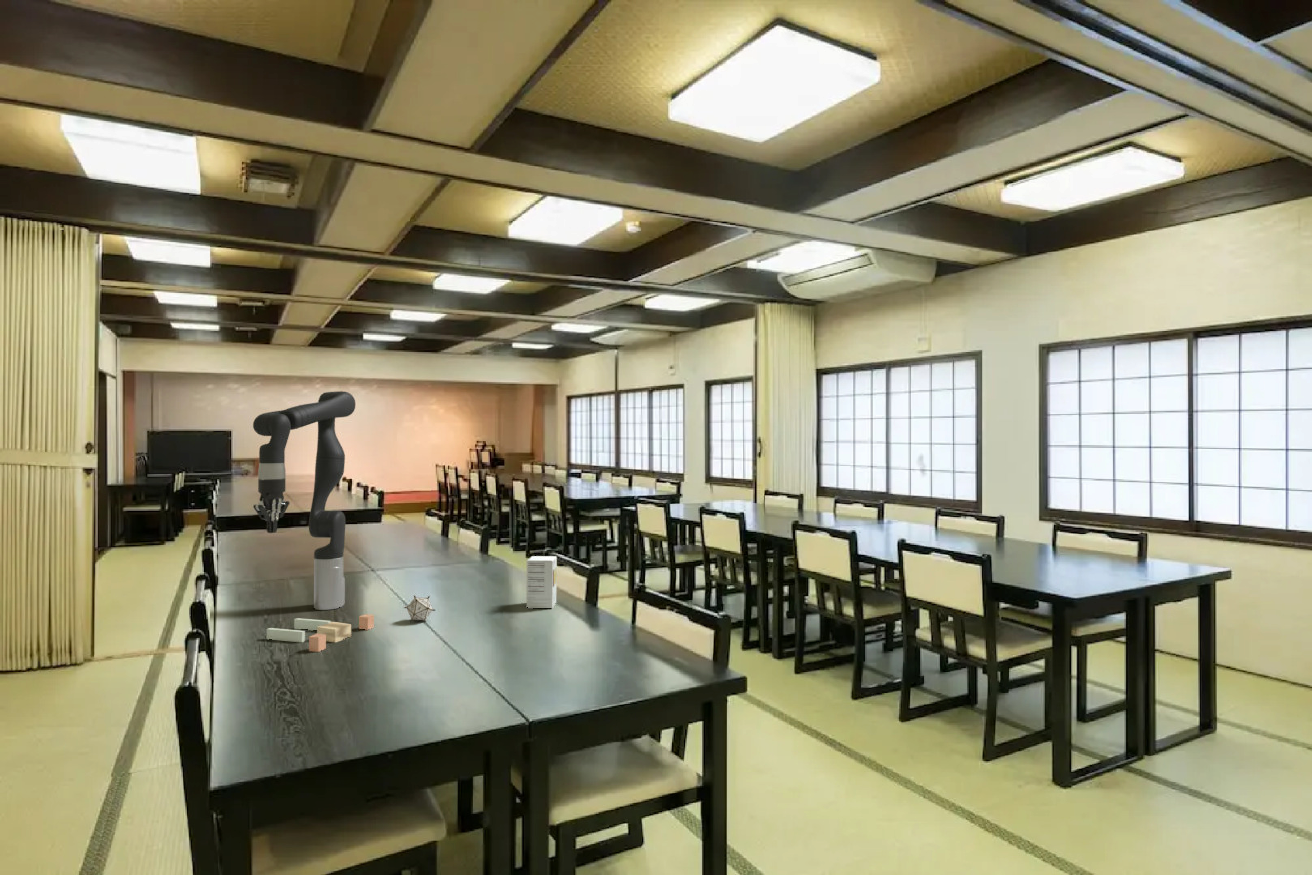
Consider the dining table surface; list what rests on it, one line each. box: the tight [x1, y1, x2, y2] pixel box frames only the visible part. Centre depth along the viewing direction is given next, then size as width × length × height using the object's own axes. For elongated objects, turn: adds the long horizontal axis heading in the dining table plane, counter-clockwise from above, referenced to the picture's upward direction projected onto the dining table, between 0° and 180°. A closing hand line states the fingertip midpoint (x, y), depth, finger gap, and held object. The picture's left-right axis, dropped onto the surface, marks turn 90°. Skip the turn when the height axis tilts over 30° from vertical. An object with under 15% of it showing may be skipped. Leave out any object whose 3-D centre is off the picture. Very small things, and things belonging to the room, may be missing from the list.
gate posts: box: [308, 614, 375, 653], centre depth 210 cm, size 25×3×4 cm, turn 167°
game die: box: [403, 595, 436, 623], centre depth 230 cm, size 9×8×10 cm
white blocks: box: [266, 617, 332, 643], centre depth 214 cm, size 12×12×3 cm
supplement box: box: [526, 555, 558, 609], centre depth 252 cm, size 10×9×17 cm
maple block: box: [316, 621, 352, 643], centre depth 211 cm, size 6×7×4 cm
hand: (271, 532), depth 224 cm, fingers closed
